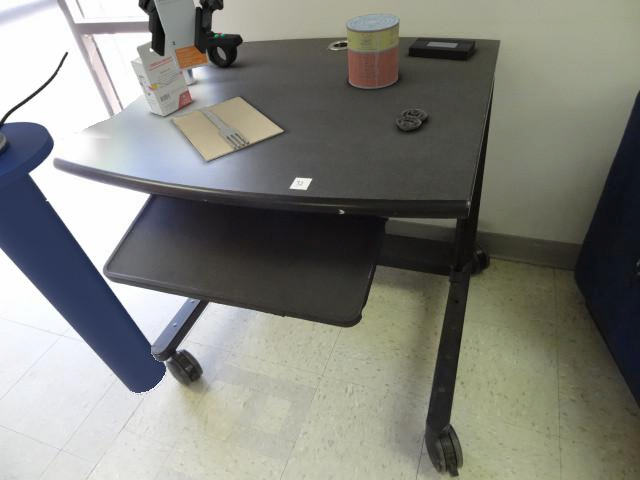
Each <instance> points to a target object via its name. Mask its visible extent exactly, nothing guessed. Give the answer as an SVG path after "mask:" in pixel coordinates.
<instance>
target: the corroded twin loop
mask: <svg viewBox="0 0 640 480" xmlns="http://www.w3.org/2000/svg"><path fill="white" fill-rule="evenodd" d="M400 114H401V117H398V118H396V119H395V123H396V124H397V126H398V128H399V129H400V130H403V131H406V132H407V131H411V130H415V129H419V127H420V126H421V124H422V122H423V121H425V120H426V118H427V117H428V113H427V112H426V111H425V110H424V109H422V108H418V107H416V108H408V109H404V110H403V111H401V113H400Z"/></svg>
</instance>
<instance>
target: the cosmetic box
mask: <svg viewBox="0 0 640 480" xmlns="http://www.w3.org/2000/svg"><path fill="white" fill-rule="evenodd" d="M154 2H155V5H156V8H157V11H158V14H159V17H160V20H161V23H162V26H163V29H164V32H165V36H166V38H167V41H168V44H169V47H170V50H171V53H172V56H173V59H174V62H175V65H176V67H177V70H178V72H181V71H184V70H189V69H192V70H193V69H198V68H202V67H207V66H211V61H210V60H209V56H208V53H207V49H206V54H202V53H201V52H200V51H199V50H198V49H197V48H196V47H195V46H194V37H195V14H196V6H195V5H196V4H195V2H194V0H154Z"/></svg>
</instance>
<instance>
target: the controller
mask: <svg viewBox="0 0 640 480" xmlns="http://www.w3.org/2000/svg"><path fill="white" fill-rule="evenodd" d="M243 42H244V39H243V37H242V35H241V34H238V33H222V32H215V31H213V30H211V31H210V32H207V42H206V49H207V53H208V56H209V60H210V63H211V64H213V65H214V66H215V67H216V66H217V67H219V68H227V67H230V66H231V65H233V64H234V63H235V62H236V60H237V57H238V47H239V46H241V45H242V44H243ZM218 48H219V49H221V50H222V51H223V53H224V55H225V59H224V58H222V57H221V55H220V54H219V51H218Z"/></svg>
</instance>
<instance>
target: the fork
mask: <svg viewBox="0 0 640 480" xmlns="http://www.w3.org/2000/svg"><path fill="white" fill-rule="evenodd" d="M207 107H208V106H207ZM207 107H202V108H201V109H199V110H200V111H201V112H202V113H203V114H204V115H205V116H206V117H207V118H208V119H209V120H210V121H211V122H212V123H213V124H214V125H215V126H216V127H217V128H218V129H219V130H220V131H219V132H218V134H219V135H220V136H221V137H222V138H223V139H224V140H225V141H226V142H227V143H228V144H229V145H230V146H231V147H232V148H233V149H234V150H235V149H236V147H235V146H234V145H233V144H232V143H231V142H230V141H229V140H228V139H227V138H229V139H230V140H231V141H232V142H233V143H234V144H235V145H236V146H237V147H238V148H240V147H241V146H240V144H241V145H242V146H245V143H246V144H247V145H248V144H249V141H248V140H246V139H245V138H244V137H243V136H242V135H241V134H240V133H239V132H238V131H237V130H235V129H234V128H233V127H230V128H228V127H227V126H226V125H225V124H224V123H223V122H222V121H221V120H220V119H219V118H218V117H216V116H215V115H214V114H213V113H212V112H211V111H210V110H209V109H208V108H207ZM236 135H237V136H238V137H239V138H240V139H242V140H243V141H244V142H245V143H244V142H242V141H241V140H240V139H239V138H238V137H237V136H236ZM232 137H233V138H235V139H236V140H237V141H238V142H239V143H240V144H239V143H237V142H236V141H235V140H234V139H233V138H232Z"/></svg>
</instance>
